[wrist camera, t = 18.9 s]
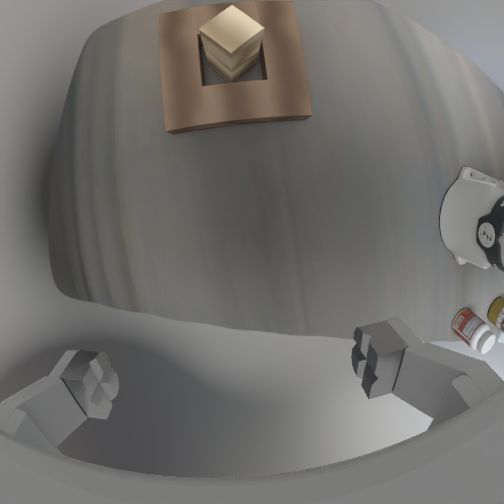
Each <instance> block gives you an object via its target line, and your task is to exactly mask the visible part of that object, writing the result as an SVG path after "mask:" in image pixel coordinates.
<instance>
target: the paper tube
mask: <svg viewBox="0 0 504 504" xmlns="http://www.w3.org/2000/svg"><path fill="white" fill-rule="evenodd" d="M488 319H489V320H490V321H491V322H492V323H493V324H494V325H496V326H497V327H498V328H499V329H500V330H501V331H503V332H504V299H503V298H501V297H500V298H497V299H496V300H495V301H494V302H493V303H492V305H491V307H490V309H489V312H488Z"/></svg>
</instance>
